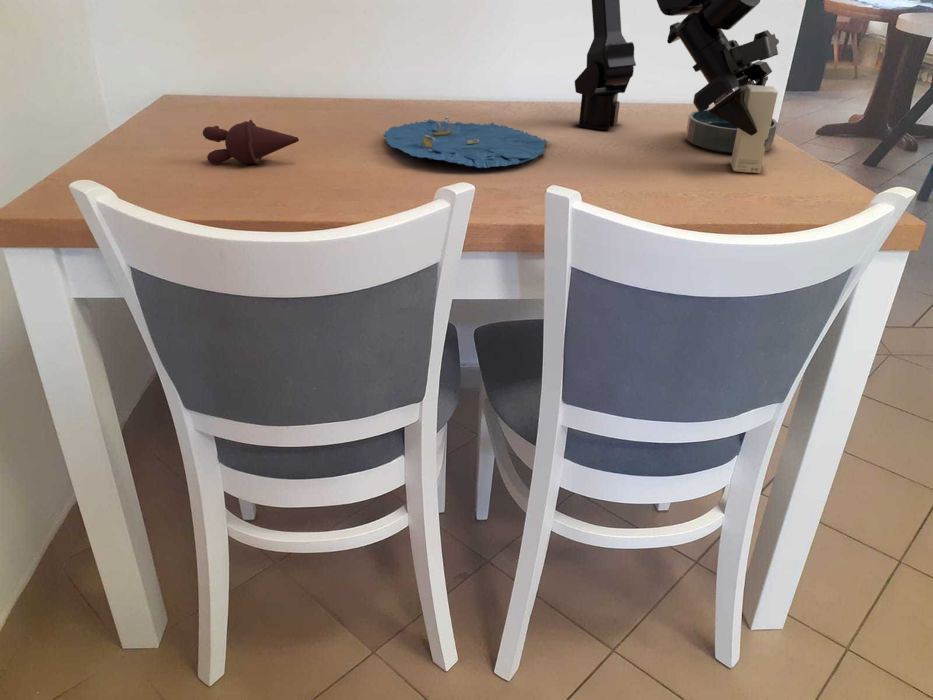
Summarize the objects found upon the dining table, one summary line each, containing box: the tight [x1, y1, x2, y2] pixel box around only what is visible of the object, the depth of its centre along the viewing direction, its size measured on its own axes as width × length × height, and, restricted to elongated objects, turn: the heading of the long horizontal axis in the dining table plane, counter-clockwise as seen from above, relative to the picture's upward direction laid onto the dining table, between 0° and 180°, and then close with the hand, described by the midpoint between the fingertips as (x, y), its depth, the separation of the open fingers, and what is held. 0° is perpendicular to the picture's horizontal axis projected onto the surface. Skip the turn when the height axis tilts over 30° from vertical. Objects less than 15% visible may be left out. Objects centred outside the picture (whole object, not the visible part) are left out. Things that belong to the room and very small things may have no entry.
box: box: [730, 85, 779, 174], centre depth 119 cm, size 5×4×13 cm
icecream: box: [202, 119, 300, 165], centre depth 117 cm, size 7×7×15 cm
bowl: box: [684, 108, 779, 154], centre depth 134 cm, size 15×15×4 cm
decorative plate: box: [382, 116, 548, 169], centre depth 128 cm, size 30×30×5 cm
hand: (761, 130), depth 118 cm, fingers closed on box, 6 cm apart
